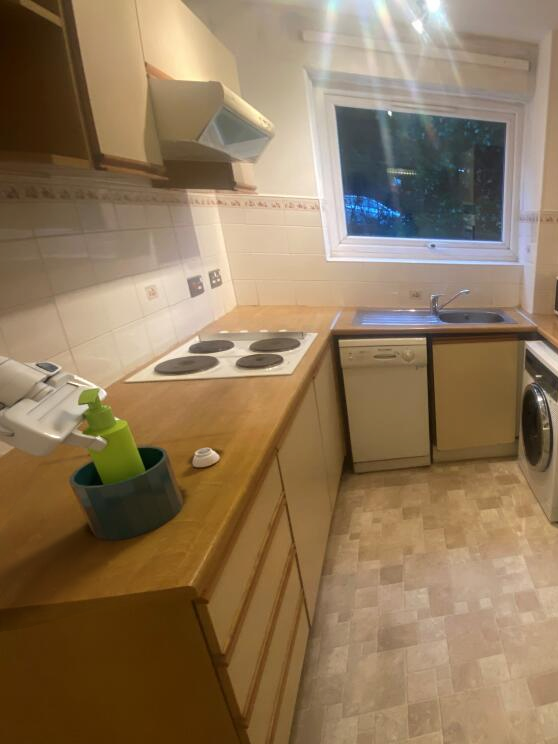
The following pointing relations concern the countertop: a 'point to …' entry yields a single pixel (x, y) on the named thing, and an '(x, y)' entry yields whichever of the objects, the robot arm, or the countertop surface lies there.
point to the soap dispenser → (110, 441)
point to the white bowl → (205, 457)
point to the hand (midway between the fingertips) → (113, 436)
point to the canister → (129, 497)
